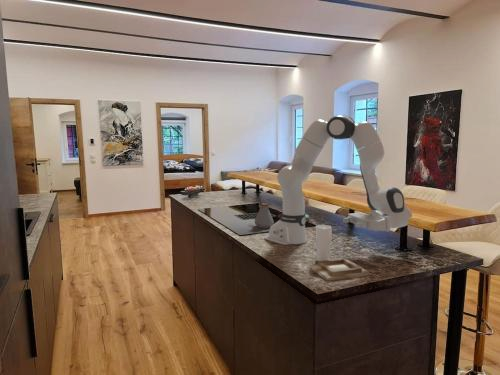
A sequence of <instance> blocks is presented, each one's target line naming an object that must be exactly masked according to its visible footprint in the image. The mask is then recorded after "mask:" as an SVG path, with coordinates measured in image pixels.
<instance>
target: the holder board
mask: <svg viewBox="0 0 500 375" xmlns="http://www.w3.org/2000/svg"><path fill="white" fill-rule="evenodd" d="M309 268H310V270H312V271H314V272H315V273H316V274H317V275H318V276H320V277H321V278H322V279H324V280H325V281H326V282H329V281H336V280H345V279H350V278H359V277H365V276H370V271H368V270H366V269H365V268H363V267H361V266H360V265H358V264H356V263H355V262H353V261H351V260H350V259H349V260H348V259H347V258H345V257H344V258H336V259H329V260H326V261H317V264H310V267H309Z"/></svg>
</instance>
